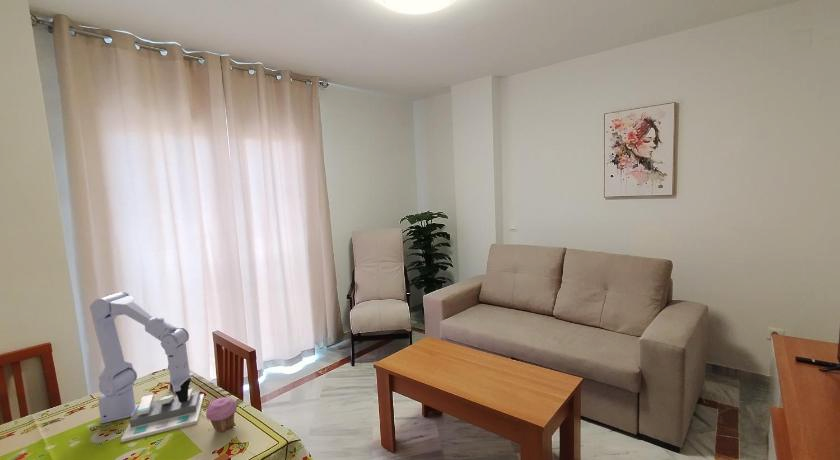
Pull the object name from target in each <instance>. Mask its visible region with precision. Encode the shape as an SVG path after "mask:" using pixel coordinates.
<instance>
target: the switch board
mask: <svg viewBox="0 0 840 460" xmlns="http://www.w3.org/2000/svg"><path fill="white" fill-rule="evenodd" d="M204 397H205V394H204V393H203V394H201V393H200V390H198V391H193V392H192V395H191V399H189V400H188V401H185V402H181V403H180V402H179V403H178V396H177V395H176V396H175V395H174V399H172V401H171V404H166V405H162V406H161V405H158V401H159V400H160V399H158V400H153V401H152V404H151V408H150V410H149V413H146V414H142V415H138V416H137V413H136V412H137V410H138V407H139V405H140V403H138V404H139V405H138V406H137V408H136V410H135V412H134V413H133V415H132V417H130V418H129V424H128V426H127V428H126V429H125V431H124V433H123V435H122V437H121V439H120V442H121V443H125V442H129V441H132V440H137V439H141V438H144V437H147V436H148V437H149V436H152V435H156V434H160V433H163V432H167V431H171V430H176V429H179V428H184V427H188V426H192V425H195V424H198V423H199V418H200V415H201V409H202V405H203V404H204V403H203V402H204Z"/></svg>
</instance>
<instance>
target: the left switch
mask: <svg viewBox="0 0 840 460" xmlns="http://www.w3.org/2000/svg"><path fill="white" fill-rule="evenodd" d="M154 399H155V397H154V394H150V395H149V394H148V395H144V396H142V397H141V400H140V403H139V404H140V405H139V407H138V410H137V412H136V413H137V416H138V415H142V414H146V413H149V410H150V408H151V404H152V402H153V401H154Z"/></svg>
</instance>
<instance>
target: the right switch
mask: <svg viewBox="0 0 840 460" xmlns="http://www.w3.org/2000/svg"><path fill="white" fill-rule="evenodd" d="M193 392H194V389H193V387H192V388H189V389H188V399H187V401H188V400H189V399H191V395H192V393H193ZM178 403H179V399H178Z"/></svg>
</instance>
